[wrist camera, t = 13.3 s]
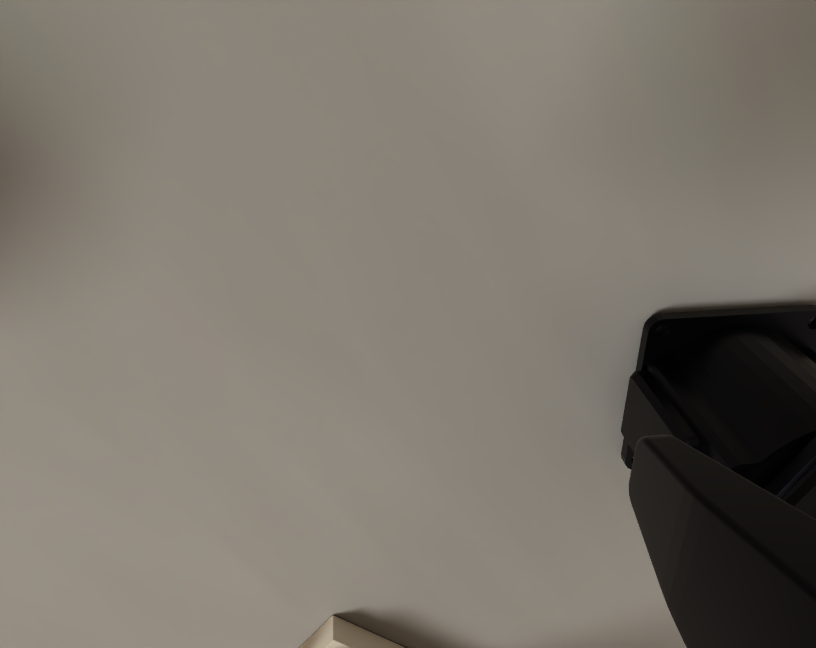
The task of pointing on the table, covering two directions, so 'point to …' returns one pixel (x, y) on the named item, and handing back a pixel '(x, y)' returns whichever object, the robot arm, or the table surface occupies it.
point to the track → (346, 637)
